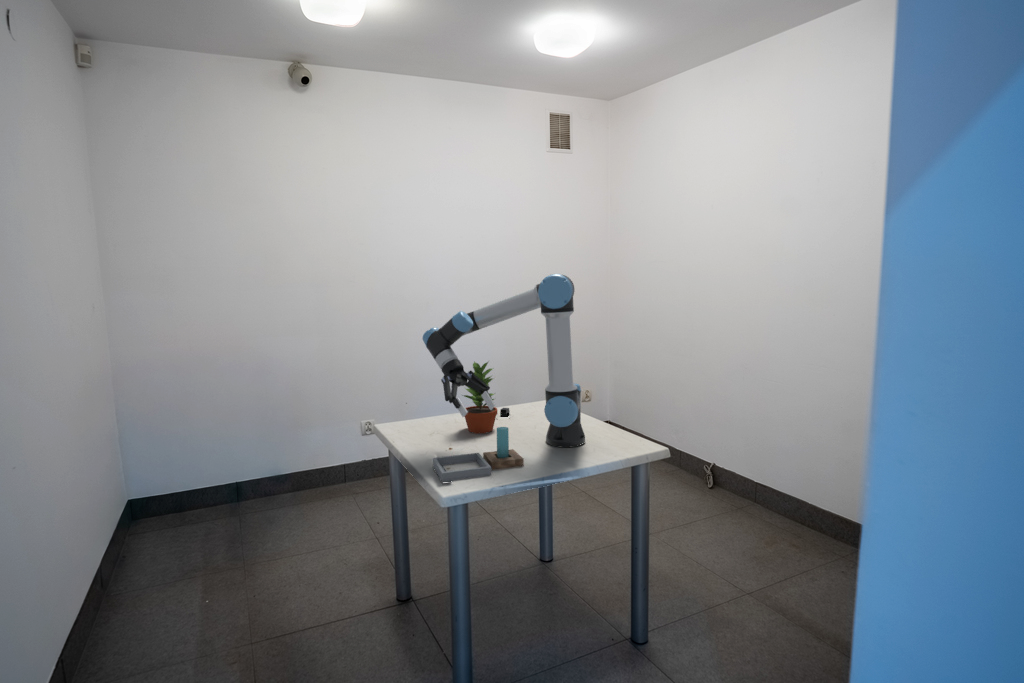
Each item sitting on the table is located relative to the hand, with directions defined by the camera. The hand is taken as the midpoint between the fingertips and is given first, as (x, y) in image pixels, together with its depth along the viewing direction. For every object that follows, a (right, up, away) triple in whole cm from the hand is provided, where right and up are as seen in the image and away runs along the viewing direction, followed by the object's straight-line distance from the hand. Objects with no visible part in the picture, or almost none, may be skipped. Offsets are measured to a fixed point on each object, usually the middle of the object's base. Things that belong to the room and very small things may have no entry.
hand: (479, 411), depth 199 cm
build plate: (+8, -11, +61) cm, 63 cm away
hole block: (+8, -18, -5) cm, 20 cm away
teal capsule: (+8, -17, -5) cm, 20 cm away
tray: (-5, -19, -12) cm, 23 cm away
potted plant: (-2, -13, +39) cm, 42 cm away
